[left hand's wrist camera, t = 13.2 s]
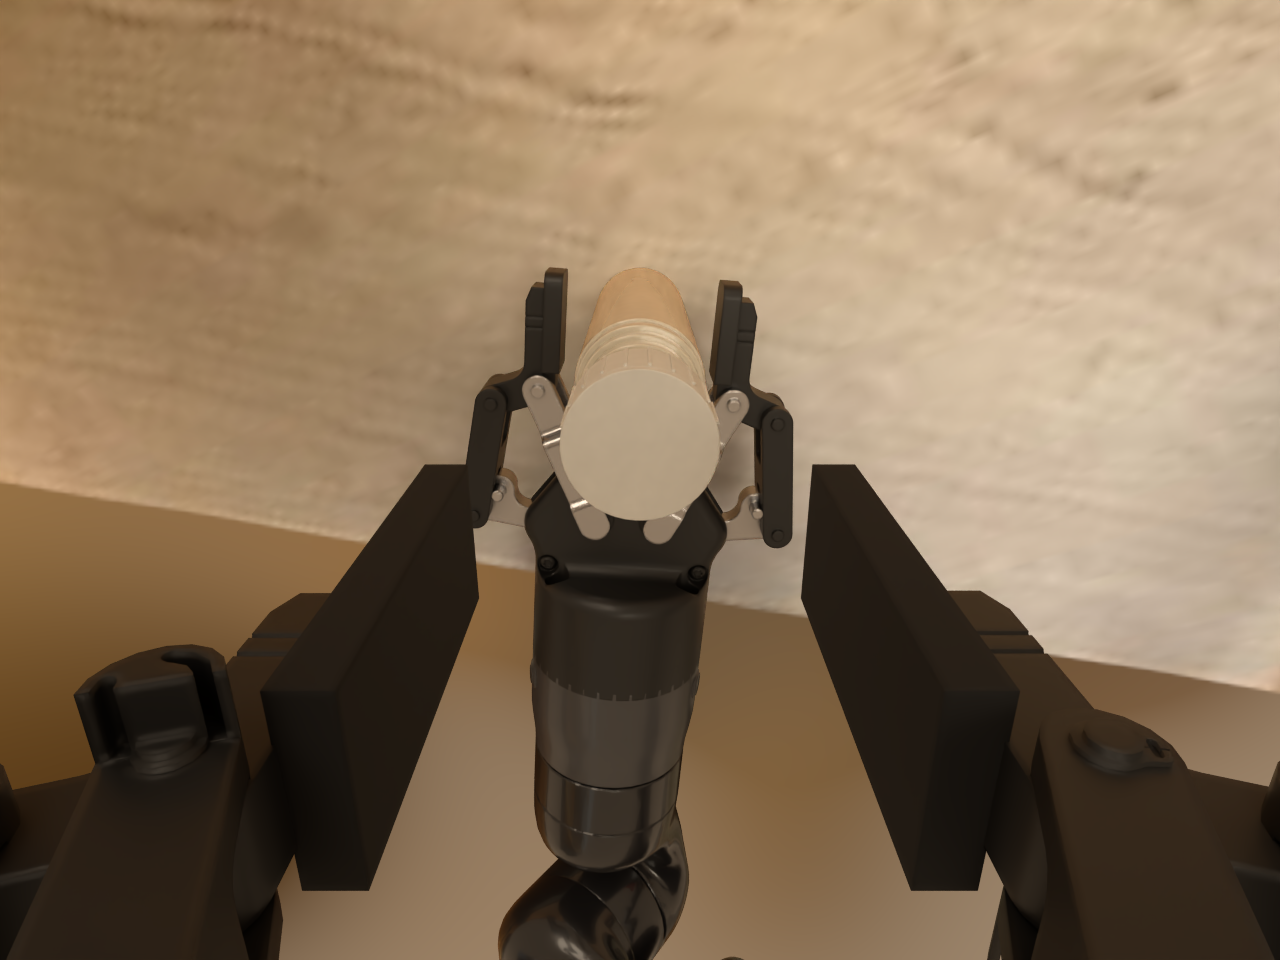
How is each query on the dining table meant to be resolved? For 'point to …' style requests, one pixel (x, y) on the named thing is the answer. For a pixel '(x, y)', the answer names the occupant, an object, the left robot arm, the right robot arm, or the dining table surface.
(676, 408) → the cap
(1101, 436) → the dining table surface
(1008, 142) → the dining table surface
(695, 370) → the bottle
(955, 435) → the dining table surface
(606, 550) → the right robot arm
